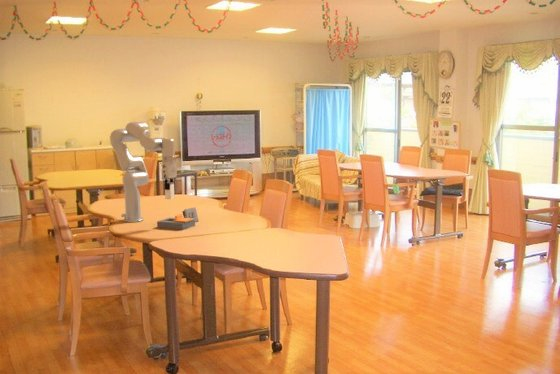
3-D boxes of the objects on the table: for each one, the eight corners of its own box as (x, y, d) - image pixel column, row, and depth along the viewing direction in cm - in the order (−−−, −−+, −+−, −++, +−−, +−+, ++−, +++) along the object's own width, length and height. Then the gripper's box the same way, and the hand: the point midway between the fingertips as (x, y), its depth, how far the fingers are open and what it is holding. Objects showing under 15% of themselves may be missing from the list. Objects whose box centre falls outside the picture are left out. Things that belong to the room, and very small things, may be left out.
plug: (165, 199, 370) (164, 182, 368) (168, 198, 373) (168, 182, 372) (170, 199, 368) (170, 183, 367) (174, 198, 372) (173, 182, 370)
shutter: (173, 221, 366) (173, 216, 366) (182, 218, 374) (181, 213, 374) (185, 222, 363) (184, 217, 363) (193, 219, 371) (193, 214, 371)
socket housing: (157, 227, 369) (157, 221, 368) (170, 223, 381) (170, 217, 381) (182, 230, 361) (182, 223, 361) (195, 225, 374) (194, 219, 374)
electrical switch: (188, 224, 381) (186, 209, 380) (182, 223, 384) (181, 209, 383) (199, 221, 388) (197, 207, 387) (193, 221, 391) (192, 207, 391)
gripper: (165, 160, 359) (166, 191, 361) (181, 158, 374) (182, 187, 376) (155, 160, 362) (156, 190, 364) (171, 157, 377) (172, 187, 379)
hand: (169, 188), depth 370 cm, fingers closed on plug, 4 cm apart
